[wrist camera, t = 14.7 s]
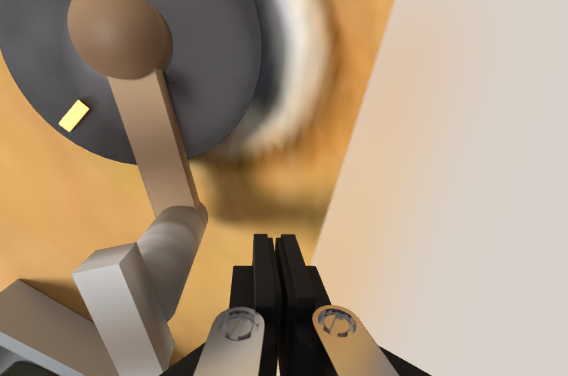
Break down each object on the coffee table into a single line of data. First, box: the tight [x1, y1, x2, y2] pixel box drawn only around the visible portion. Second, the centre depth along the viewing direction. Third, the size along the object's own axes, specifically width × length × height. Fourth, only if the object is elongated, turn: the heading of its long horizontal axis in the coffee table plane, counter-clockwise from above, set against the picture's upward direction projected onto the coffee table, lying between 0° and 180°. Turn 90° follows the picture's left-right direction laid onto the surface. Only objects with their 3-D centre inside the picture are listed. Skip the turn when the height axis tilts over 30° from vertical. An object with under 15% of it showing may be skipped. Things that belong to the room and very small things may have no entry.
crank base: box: [0, 0, 262, 165], centre depth 14 cm, size 12×12×2 cm
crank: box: [67, 0, 208, 376], centre depth 10 cm, size 13×4×8 cm, turn 10°
